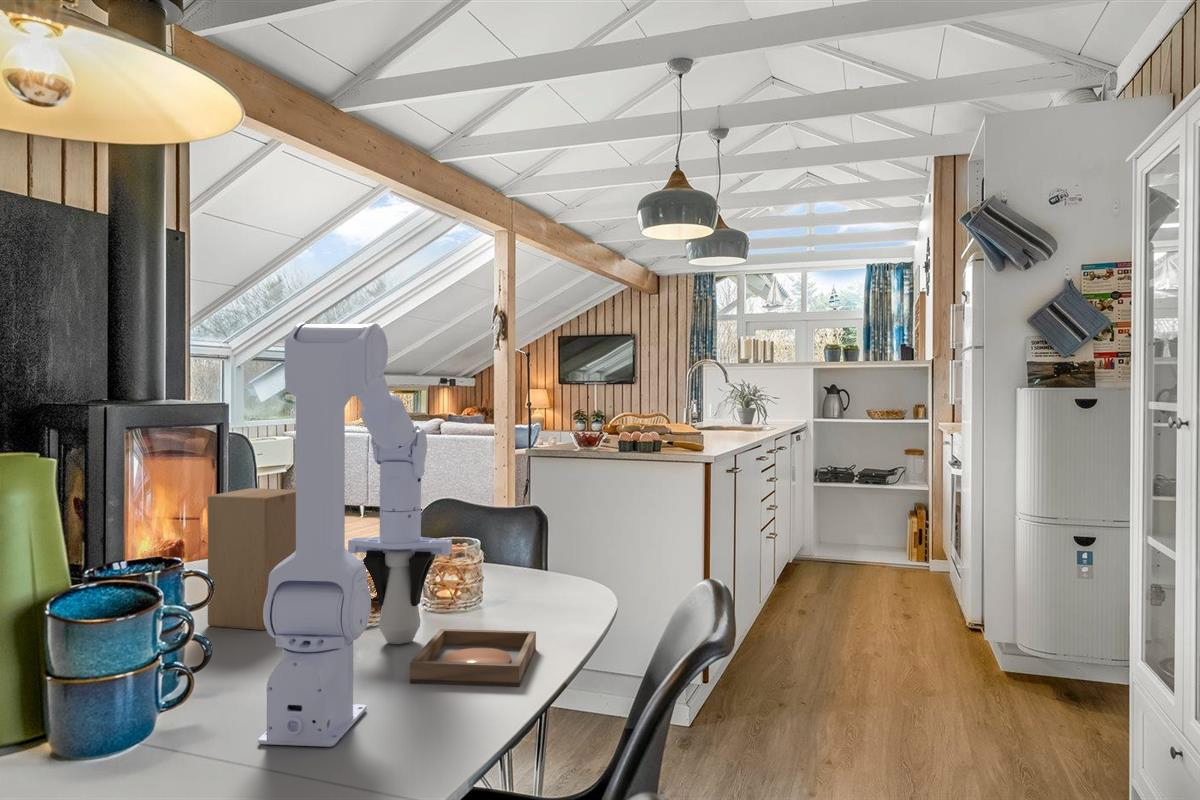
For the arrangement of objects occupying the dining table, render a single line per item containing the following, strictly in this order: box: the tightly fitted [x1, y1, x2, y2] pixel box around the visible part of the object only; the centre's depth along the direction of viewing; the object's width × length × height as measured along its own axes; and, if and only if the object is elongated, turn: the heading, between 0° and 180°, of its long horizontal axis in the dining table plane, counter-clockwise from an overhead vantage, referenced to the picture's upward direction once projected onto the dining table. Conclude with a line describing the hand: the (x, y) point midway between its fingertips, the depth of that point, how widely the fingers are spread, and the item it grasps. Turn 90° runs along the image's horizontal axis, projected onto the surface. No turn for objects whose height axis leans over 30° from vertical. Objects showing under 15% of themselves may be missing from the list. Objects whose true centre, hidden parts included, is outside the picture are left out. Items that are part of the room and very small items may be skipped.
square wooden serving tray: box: [409, 628, 537, 688], centre depth 101 cm, size 14×14×2 cm
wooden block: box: [207, 487, 296, 631], centre depth 120 cm, size 10×10×20 cm
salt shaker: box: [378, 549, 421, 645], centre depth 109 cm, size 6×6×13 cm
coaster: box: [442, 648, 511, 664], centre depth 101 cm, size 9×9×1 cm
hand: (399, 603), depth 109 cm, fingers closed on salt shaker, 4 cm apart
